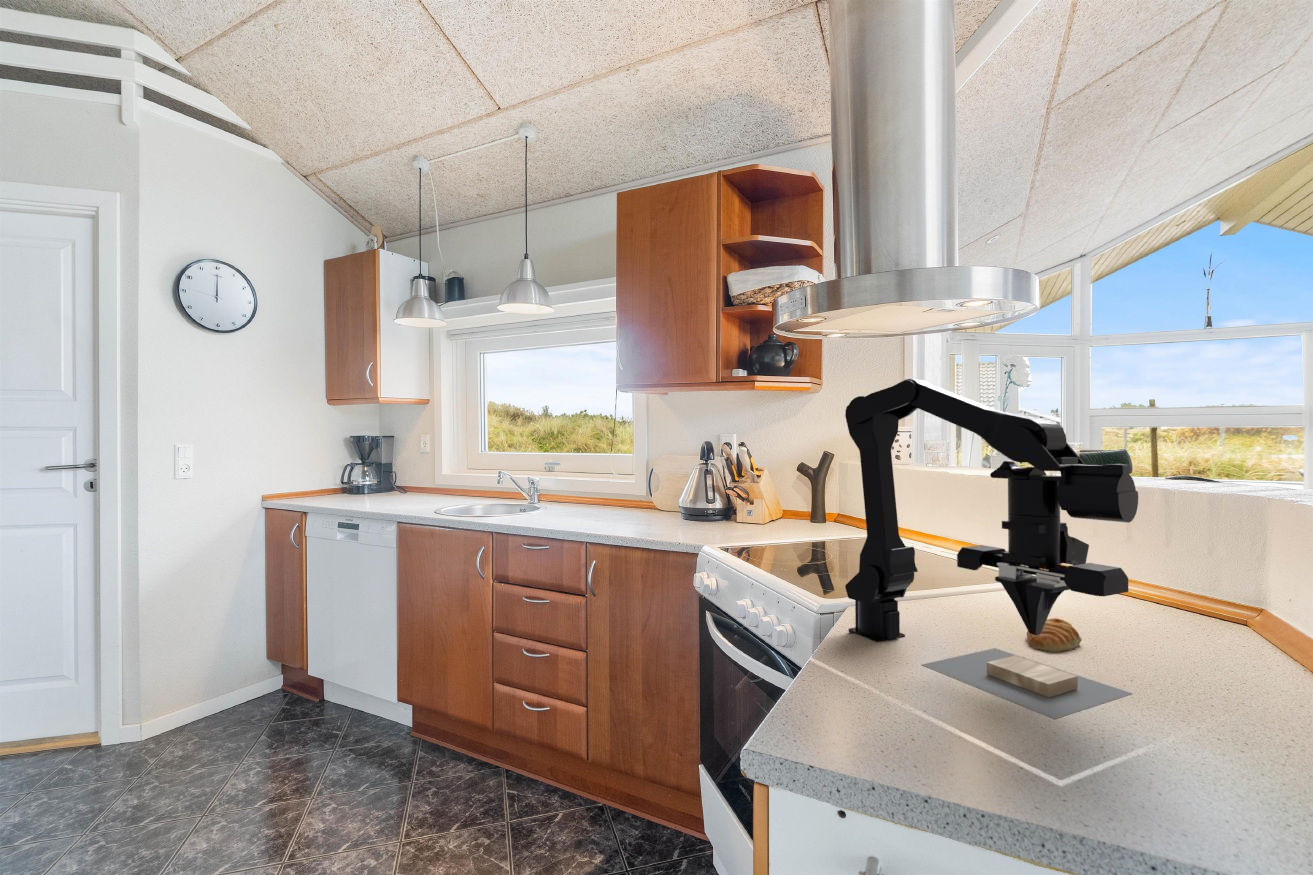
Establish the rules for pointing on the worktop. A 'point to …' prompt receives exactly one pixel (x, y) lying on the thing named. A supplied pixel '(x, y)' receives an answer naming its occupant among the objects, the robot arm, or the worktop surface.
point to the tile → (1032, 676)
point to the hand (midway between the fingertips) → (1034, 634)
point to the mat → (975, 674)
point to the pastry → (1055, 636)
